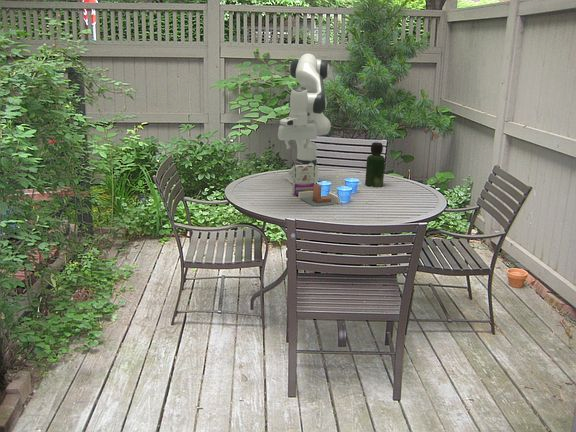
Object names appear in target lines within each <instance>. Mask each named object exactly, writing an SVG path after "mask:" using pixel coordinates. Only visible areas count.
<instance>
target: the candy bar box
mask: <svg viewBox="0 0 576 432" xmlns="http://www.w3.org/2000/svg"><path fill="white" fill-rule="evenodd" d="M292 167H293V184H292V193H291V194H292V195H293V196H294V197H298V194H299V192H304V191H313V186H314V177H315V166H314V165H313V164H304V165H295V164H293V165H292Z"/></svg>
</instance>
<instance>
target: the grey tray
mask: <svg viewBox="0 0 576 432" xmlns="http://www.w3.org/2000/svg"><path fill="white" fill-rule="evenodd" d="M338 196H339V195H337V194H335V193H333V192H331V191H329V193H328V195H327V197H329V198H331V200H333V201H335V202H337V203H339V204H338V205H341V204H342V201H341V202H340V199H339V197H340V196H339V197H338ZM297 197H298V199H299V200H300V198H307V197H313V191H304V192H299V194H298V196H297ZM340 203H341V204H340Z"/></svg>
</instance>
